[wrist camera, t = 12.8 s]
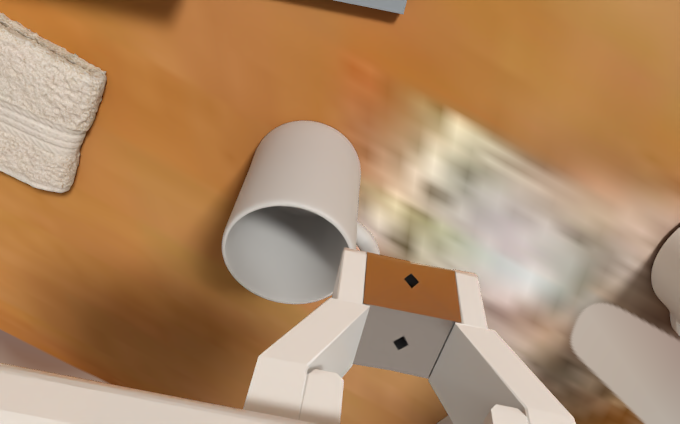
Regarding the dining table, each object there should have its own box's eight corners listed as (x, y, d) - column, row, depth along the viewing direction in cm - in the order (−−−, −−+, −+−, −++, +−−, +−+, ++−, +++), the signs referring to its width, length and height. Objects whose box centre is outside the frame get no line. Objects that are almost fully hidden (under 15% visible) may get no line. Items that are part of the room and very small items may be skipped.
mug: (233, 169, 40) (193, 258, 31) (299, 96, 36) (274, 174, 27) (344, 249, 45) (336, 348, 36) (414, 191, 41) (424, 286, 32)
